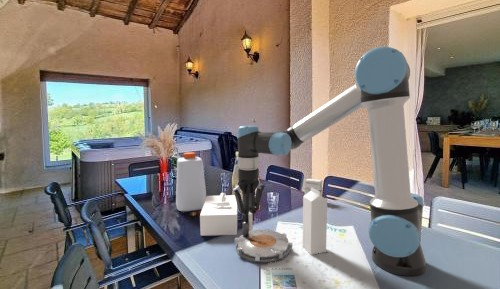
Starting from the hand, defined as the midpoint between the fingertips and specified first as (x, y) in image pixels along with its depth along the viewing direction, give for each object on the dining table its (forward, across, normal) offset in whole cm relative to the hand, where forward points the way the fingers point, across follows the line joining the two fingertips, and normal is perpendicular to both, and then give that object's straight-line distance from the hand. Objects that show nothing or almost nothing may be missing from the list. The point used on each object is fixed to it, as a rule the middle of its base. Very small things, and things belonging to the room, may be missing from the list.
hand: (249, 229), depth 103 cm
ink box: (+5, -52, -22) cm, 57 cm away
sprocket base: (+5, -1, +8) cm, 9 cm away
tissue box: (+5, +2, -22) cm, 22 cm away
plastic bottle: (+5, +7, -48) cm, 49 cm away
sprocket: (+3, -1, +8) cm, 8 cm away
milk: (+5, -16, +18) cm, 24 cm away
